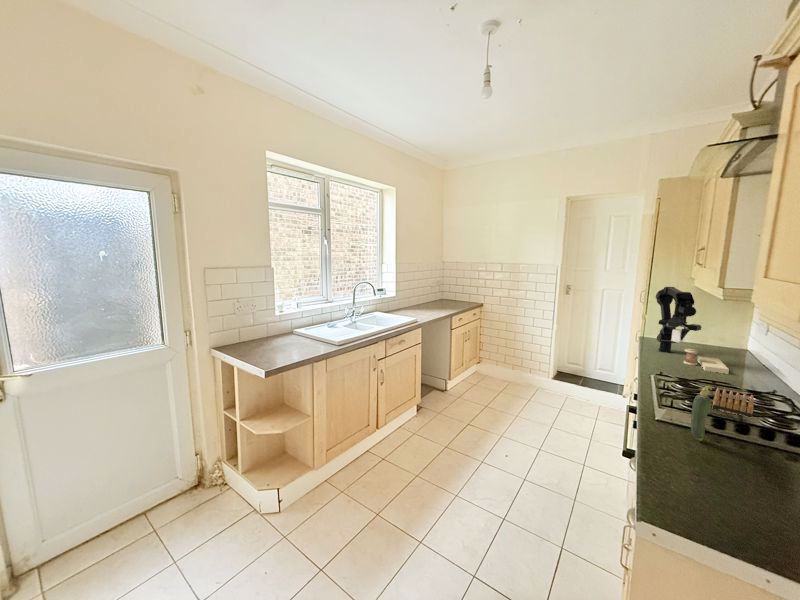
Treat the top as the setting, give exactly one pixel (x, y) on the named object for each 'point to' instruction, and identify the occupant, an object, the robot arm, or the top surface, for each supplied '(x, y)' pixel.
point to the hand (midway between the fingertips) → (677, 338)
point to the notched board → (712, 364)
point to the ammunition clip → (728, 406)
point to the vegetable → (700, 413)
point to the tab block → (676, 335)
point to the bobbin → (691, 357)
